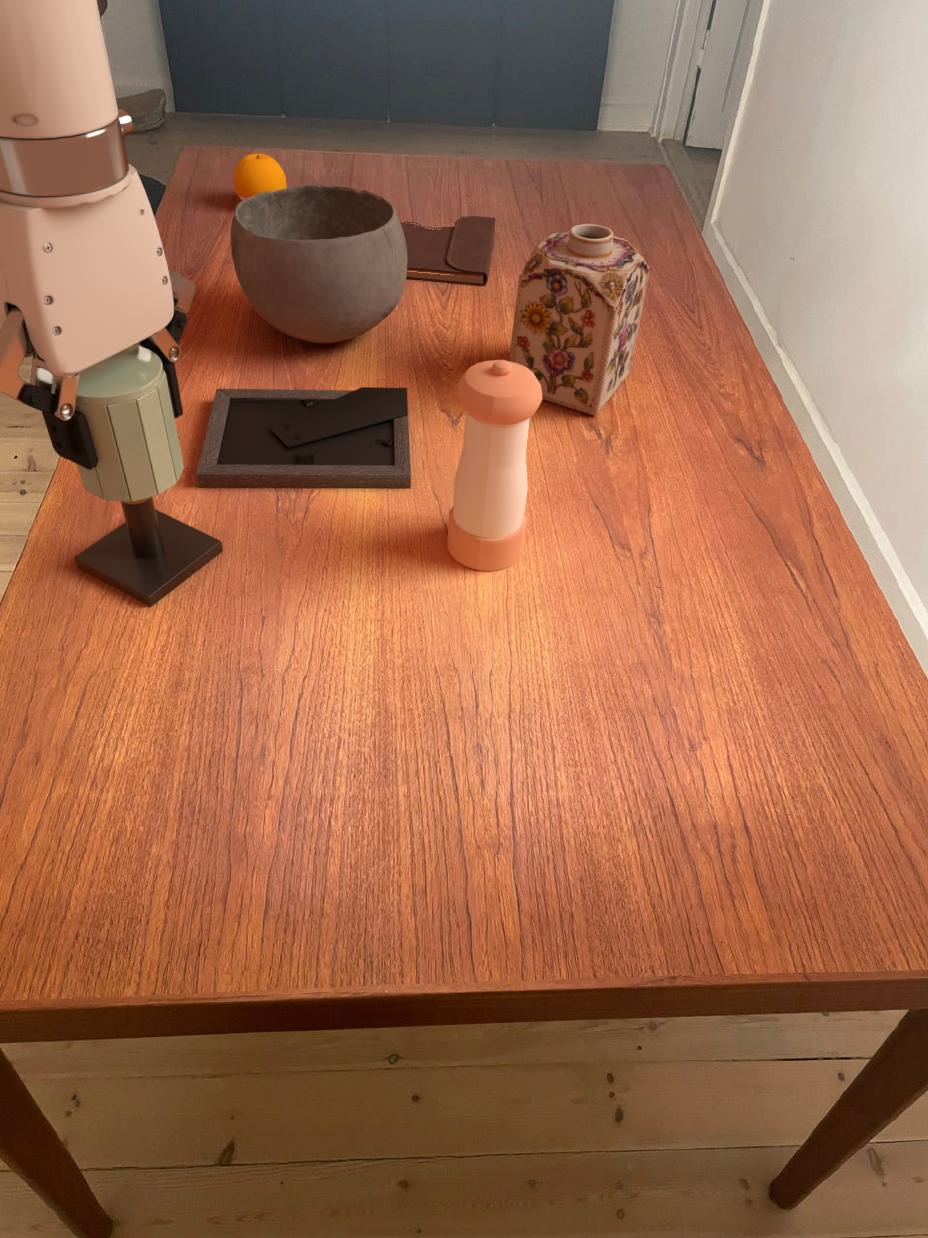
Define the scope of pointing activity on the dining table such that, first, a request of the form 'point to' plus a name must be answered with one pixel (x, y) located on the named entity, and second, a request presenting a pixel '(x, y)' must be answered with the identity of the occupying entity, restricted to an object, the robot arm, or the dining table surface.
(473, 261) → the notebook
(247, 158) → the orange
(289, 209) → the bowl
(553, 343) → the decorative jar
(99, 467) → the cup
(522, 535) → the pepper shaker
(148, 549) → the cup stand
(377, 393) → the picture frame
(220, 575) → the dining table surface
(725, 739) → the dining table surface
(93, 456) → the robot arm
